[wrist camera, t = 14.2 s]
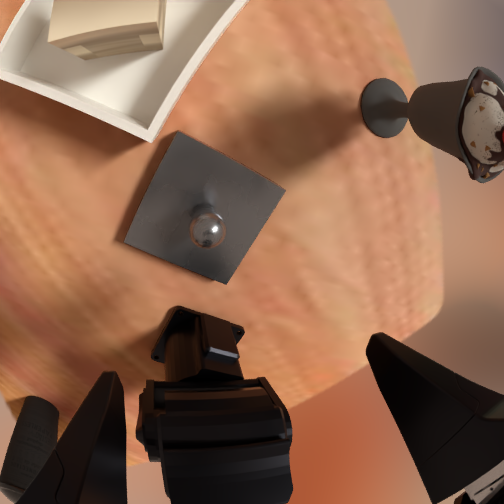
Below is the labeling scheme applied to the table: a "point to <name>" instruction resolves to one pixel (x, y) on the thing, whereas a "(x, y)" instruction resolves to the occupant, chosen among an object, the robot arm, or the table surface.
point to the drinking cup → (29, 446)
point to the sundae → (446, 118)
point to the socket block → (107, 26)
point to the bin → (116, 64)
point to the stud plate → (202, 209)
